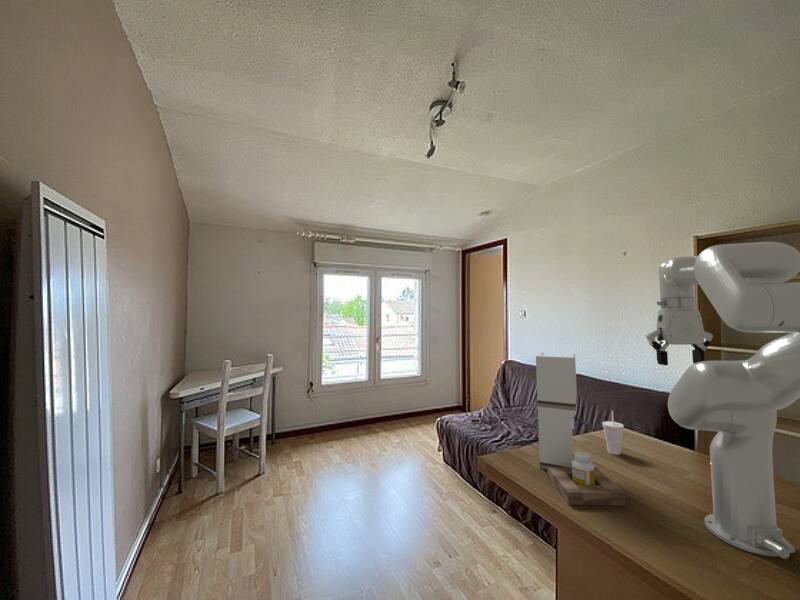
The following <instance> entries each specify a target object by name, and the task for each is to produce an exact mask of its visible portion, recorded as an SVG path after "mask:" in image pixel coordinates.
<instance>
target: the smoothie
mask: <svg viewBox="0 0 800 600" xmlns="http://www.w3.org/2000/svg"><path fill="white" fill-rule="evenodd" d="M610 411H611V412H610V413H611V421H610V420H609V421H607V420H606V421H602V422H601V425H602V427H603V433H604V437H605V443H606V449H607V452H608V453H609V454H611V455H615V456H620V455H621V454H622V444H623V442H622V441H623V435H624V434H623V433H624V430H625V426H624V424H622V423H621V422H620V423H619V422H616V421H615V419H614V411H613V410H610Z"/></svg>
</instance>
